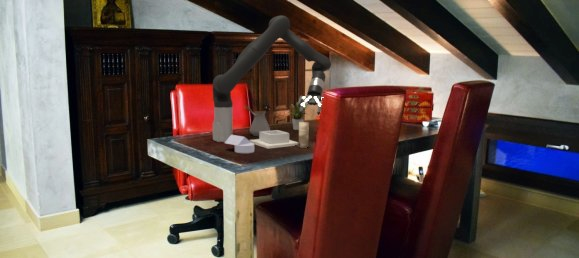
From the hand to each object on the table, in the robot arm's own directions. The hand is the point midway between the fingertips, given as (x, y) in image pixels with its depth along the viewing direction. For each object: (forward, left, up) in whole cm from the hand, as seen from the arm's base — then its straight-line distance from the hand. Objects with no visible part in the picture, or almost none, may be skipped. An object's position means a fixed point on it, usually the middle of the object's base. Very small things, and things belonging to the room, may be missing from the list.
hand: (309, 113), depth 247 cm
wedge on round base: (-38, 0, -15) cm, 41 cm away
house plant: (+20, +38, -15) cm, 45 cm away
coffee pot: (-10, +37, -15) cm, 41 cm away
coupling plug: (-8, -7, -15) cm, 19 cm away
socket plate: (-16, +7, -15) cm, 23 cm away
